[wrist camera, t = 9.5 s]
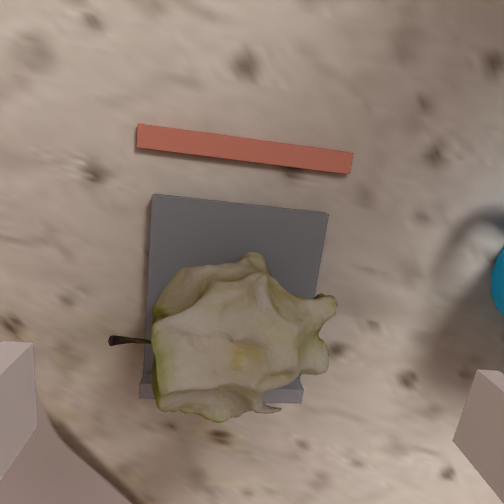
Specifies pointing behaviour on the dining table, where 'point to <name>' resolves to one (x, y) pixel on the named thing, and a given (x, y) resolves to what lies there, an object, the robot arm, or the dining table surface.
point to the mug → (498, 282)
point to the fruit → (231, 339)
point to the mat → (231, 254)
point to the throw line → (242, 149)
